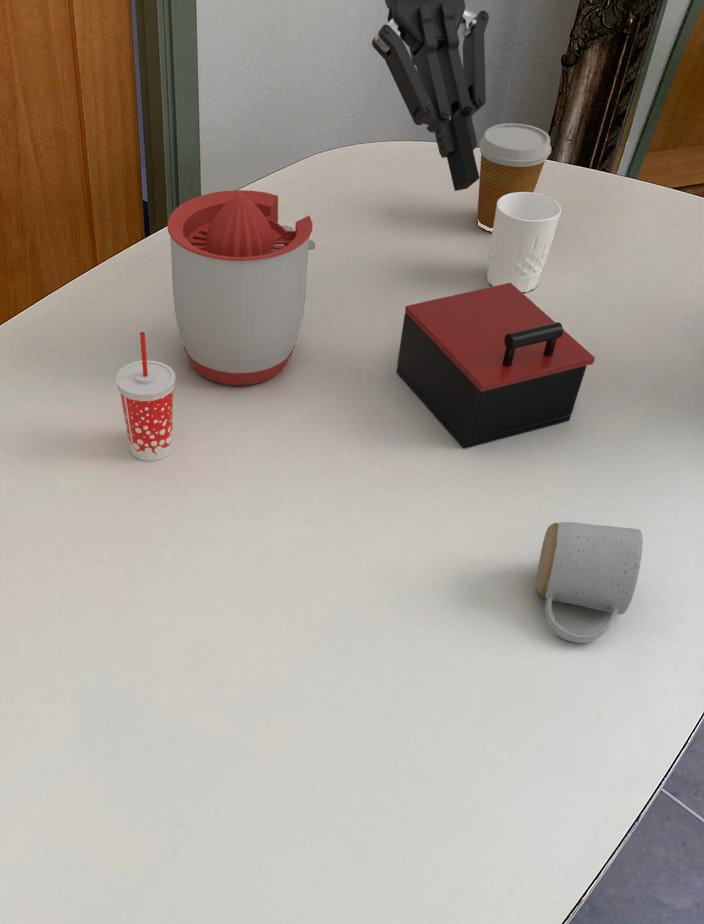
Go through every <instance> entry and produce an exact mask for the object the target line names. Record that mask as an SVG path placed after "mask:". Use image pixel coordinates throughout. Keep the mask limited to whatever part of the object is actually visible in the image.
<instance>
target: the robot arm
mask: <svg viewBox="0 0 704 924" xmlns="http://www.w3.org/2000/svg"><path fill="white" fill-rule="evenodd" d="M384 3H385V6H386V7H387V9H388V13H387V23H386V24H383V25H382V26H381V27H380V29H379V30H378V31H377V33H376V34H375V36H374V37H373V38H372V40H371V45H372V48H373V49H374V50H375V51H376V52H377V53H378V54H379V55H380V57H382V58H383V60H384V61H385V64H386V66H387V67H388V70H389V71H390V74H391V76H392V78H393V80H394V83H395V85H396V87H397V89H398V91H399V93H400V95H401V97H402V99H403V103H404V105H405V106H406V108H407V111H408V113H409V115H410V117H411V119H412V121H413V123H414V124H415V125H416V126H422V125H426V126H427V127H426V129H427V131H428V132H430V133H434V137H435V140H436V141H435V142H436V144H437V149H438V153H439V155H440V157H441V159H444V158H446V161H447V164H448V168H449V173H450V175H451V181H452V185H453V190H454V192H457V191H462V190H467V189H469V188H470V187H471V186H473V184H474V183H476V182H477V181H478V180H480V173H479V169H478V167H477V161H476V157H475V153H474V150H475V149H477V148H478V140H477V134H476V130H475V126H474V122H473V116H474V115H475V114H476V113H477V112H479V110H481V108H482V107H484V105H485V104H486V102H487V95H486V93H487V92H486V90H487V89H486V55H485V54H486V53H485V52H486V51H485V50H486V49H485V33H486V29H487V25H488V23H489V19H490V15H489V13H488V12H487V11H486V10H484V9H483V10H480V11H479V12H478V13H476V12H474V11H472V10H470V9H469V8H466V2H465V0H384ZM460 26H461V33H460V35H461V37H462V38H463V41H462V57H461V54H460V50H459V47H460V37H459V32H458V31H459V28H460ZM407 47H408V49H409V51H408V49H407Z"/></svg>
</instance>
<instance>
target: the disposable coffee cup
mask: <svg viewBox="0 0 704 924" xmlns="http://www.w3.org/2000/svg"><path fill="white" fill-rule="evenodd" d="M478 146H479V147H478V148H479V150H480V151H479V152H480V167H479V169H480V170H479V179H478V180H479V181H478V199H477V200H478V201H477V212H476V219H477V218H478V220H479V222H480V223H481V224H483V225H485V226H487V227H489V228H493V225H494V218H495V212H496V206H497V201H498V200H499V199H500V198H501V197H502V196H504V195H507V194H510V193H515V192H532V193H535V190H536V187H537V184H538V181H539V179H540V176H541V173H542V170H543V167H544V165H545V161H546V160H548V157H549V156H550V154H551V153H552V146H551V137H550V135H549V134H548V132H546V131H544V130H542V129H541V128H539V127H536V126H533V125H530V124H524V123H514V122H513V123H509V122H508V123H500V124H496V125H493V126H491V127H489V128H487V129H486V130H485V132H484V134H483V136H482V138H481V139H480V140H479V143H478Z"/></svg>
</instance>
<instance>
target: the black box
mask: <svg viewBox="0 0 704 924" xmlns="http://www.w3.org/2000/svg"><path fill="white" fill-rule="evenodd" d="M398 349H399V350H398V356H397V364H396V369H395V371H396V374H397V375H398V376H399V378H400V379H401V380H402V381H403V382H404V383H405V384H406V385H407V386H408V388H409V389H410V390H411V391H412V392H413V393H414V394H415V396H417V398H418V399H419V400H420V401H421V402H422V403H423V405H424V406H425V407H426V408H427V409H428V410H429V411H430V413H431V414H432V415H433V416H434V417H435V418H436V419H437V420H438V421H439V423H440V424H441V425H442V426H443V427H444V429H445V430H446V431H447V432H448V433H449V434H450V435H451V436H452V438H453V439H454V440H456V442H457V443H458V444H459V445H460V446H461V447H462V448H463V449H467V448H468V449H469V448H472V447H475V446H479V445H483V444H487V443H490V442H493V441H498V440H502V439H506V438H510V437H513V436H516V435H517V436H518V435H520V434H524V433H528V432H532V431H536V430H540V429H543V428H546V427H547V428H548V427H550V426H551V427H552V426H555V425H558V424H562V423H565V422H566V423H567V422H569V421H570V420H571V417H572V414H573V411H574V408H575V404H576V401H577V398H578V395H579V392H580V389H581V386H582V382H583V379H584V375H585V373H586V369H587V366H583V367H579V368H575V369H571V370H567V371H563V372H559V373H555V374H551V375H547V376H543V377H539V378H535V379H531V380H527V381H523V382H519V383H515V384H511V385H507V386H503V387H499V388H495V389H491V390H487V391H483V392H481V391H480V390H479V389H478V388H477V387H476V386H475V385H474V384H473V383H472V382H471V381H470V380H469V379H468V378H467V377H466V376H465V375H464V374H463V372H462V371H461V370H460V369H459V368H458V367H457V366H456V365H455V364H454V363H453V362H452V361H451V360H450V359H449V358H448V357H447V356H446V355H445V354H444V353H443V352H442V350H441V349H440V348H439V347H438V346H437V345H436V344H435V343H434V342H433V341H432V340H431V339H430V338H429V337H428V336H427V335H426V334H425V333H424V332H423V331H422V330H421V328H420V327H419V326H418V325H417V324H416V323H415V322H414V321H413V320H412V319H411V318H410V317H409V316H408V315H407V314H406V313H405V312H404V316H403V322H402V330H401V336H400V344H399V348H398Z"/></svg>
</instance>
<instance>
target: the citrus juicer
mask: <svg viewBox="0 0 704 924" xmlns="http://www.w3.org/2000/svg"><path fill="white" fill-rule="evenodd" d="M313 225H314V224H313V221H312V219H311V215H310V214H309V215H307V216H305V217H303V218H301V219H299V220H297V221H295V225H294V226H295V228H294V227H292V226H289V225H281V224H280V223H279V195H277V194H273V193H269V192H266V191H259V190H258V191H257V190H247V189H246V190H245V189H244V190H243V189H236V190H235V189H232V190H221V191H215V192H210V193H205V194H202V195H199V196H196V197H194V198H191V199H188V200H187V201H185V202H183V203H181V204H180V205H179V206H178V207H176V208H175V209H174V210H173V211H172V212H171V214H170V216H169V218H168V220H167V224H166V228H167V233H168V234H169V236H170V255H171V256H170V257H171V258H170V259H171V279H172V280H171V281H172V297H173V299H172V300H173V306H174V314H175V320H176V325H177V328H178V329H177V330H178V333H179V336H180V339H181V342H182V344H183V350H184V351H185V354H186V356H187V357H188V359H189V361H190V363H191V365H192V367H193V369H194V370H195V371H196V372H197V373H198V374H199V375H201V376H203V377H204V378H206V379H208V380H210V381H213V382H215V383H216V382H217V383H219V384H225V385H227V386H231V387H233V386H234V387H235V386H246V385H247V386H249V385H253V384H259V383H262V382H265V381H268V380H270V379H272V378H274V377H276V376H277V375H279V374H280V373H281V372H282V371H283V370H284V368H285V367H286V365H287V363H288V362H289V360H290V358H291V356H292V354H293V352H294V349H295V347H296V345H295V344H296V342H297V339H298V336H299V334H300V331H301V327H302V324H303V319H304V314H305V306H306V294H307V280H308V277H307V276H308V261H309V251H310V250H315V249H316V243H315V241H314V240H312V239H310V238H311V237H310V236H311V234H312V232H313V228H314V227H313Z"/></svg>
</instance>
